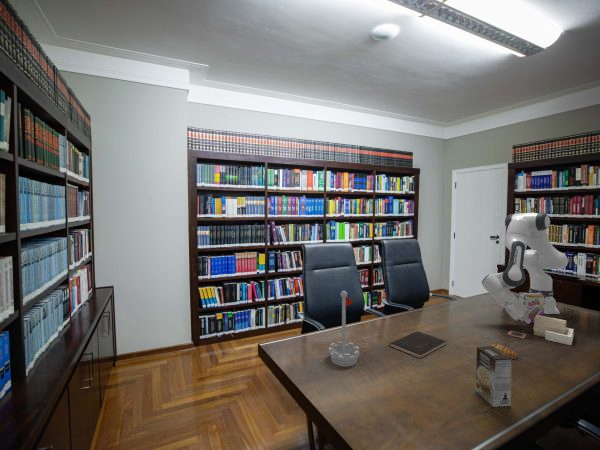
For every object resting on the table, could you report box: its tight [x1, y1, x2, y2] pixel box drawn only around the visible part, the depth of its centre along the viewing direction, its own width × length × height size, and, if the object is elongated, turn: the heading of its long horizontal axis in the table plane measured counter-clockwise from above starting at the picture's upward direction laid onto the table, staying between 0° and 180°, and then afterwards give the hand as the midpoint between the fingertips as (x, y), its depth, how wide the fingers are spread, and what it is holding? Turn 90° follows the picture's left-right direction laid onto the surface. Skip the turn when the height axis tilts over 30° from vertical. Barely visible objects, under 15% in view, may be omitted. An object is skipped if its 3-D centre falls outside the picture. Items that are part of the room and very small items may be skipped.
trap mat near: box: [507, 330, 527, 339], centre depth 155 cm, size 7×7×1 cm
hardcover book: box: [389, 330, 448, 359], centre depth 143 cm, size 16×23×2 cm
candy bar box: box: [518, 292, 545, 324], centre depth 173 cm, size 11×5×16 cm, turn 84°
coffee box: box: [475, 345, 513, 408], centre depth 101 cm, size 9×6×16 cm
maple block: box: [533, 315, 567, 338], centre depth 153 cm, size 6×12×9 cm, turn 45°
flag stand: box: [328, 290, 360, 367], centre depth 128 cm, size 13×13×30 cm
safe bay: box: [544, 327, 575, 346], centre depth 150 cm, size 14×10×4 cm
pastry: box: [492, 343, 518, 360], centre depth 133 cm, size 9×7×4 cm
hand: (529, 322), depth 159 cm, fingers closed
